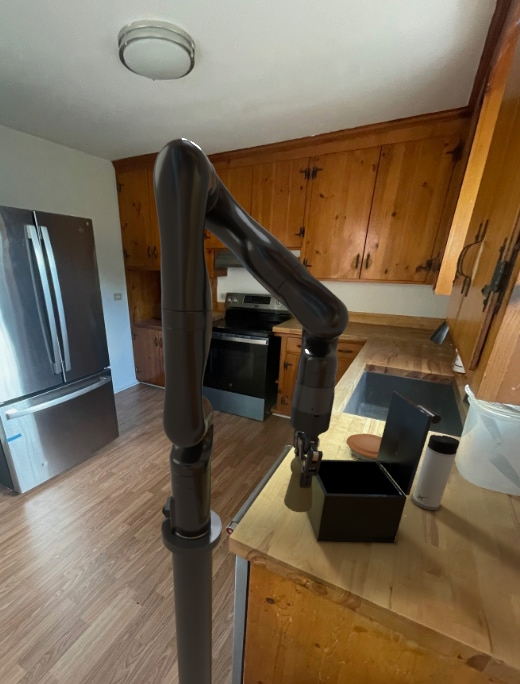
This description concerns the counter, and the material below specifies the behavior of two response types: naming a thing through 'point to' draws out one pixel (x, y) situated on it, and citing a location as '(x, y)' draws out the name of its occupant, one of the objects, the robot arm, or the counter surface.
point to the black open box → (355, 502)
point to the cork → (297, 490)
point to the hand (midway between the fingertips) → (301, 478)
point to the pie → (364, 446)
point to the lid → (404, 439)
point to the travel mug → (435, 471)
